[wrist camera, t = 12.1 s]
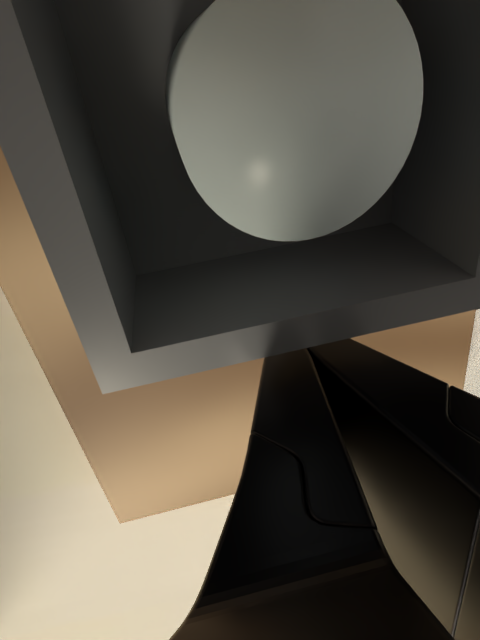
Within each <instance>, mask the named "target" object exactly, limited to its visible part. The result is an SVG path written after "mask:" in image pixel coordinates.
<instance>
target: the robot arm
mask: <svg viewBox="0 0 480 640" xmlns="http://www.w3.org/2000/svg"><path fill="white" fill-rule="evenodd" d="M250 434H251V435H250V436H249V442H248V447H247V452H246V457H245V461H244V465H243V470H242V474H241V477H240V480H239V484H238V487H237V490H236V493H235V496H234V499H233V502H232V505H231V508H230V511H229V514H228V516H227V519H226V522H225V525H224V527H223V530H222V533H221V536H220V539H219V541H218V544H217V547H216V550H215V552H214V555H213V558H212V561H211V564H210V566H209V569H208V572H207V575H206V577H205V580H204V582H203V585H202V587H201V590H200V592H199V594H198V596H197V599H196V601H195V603H194V605H193V607H192V609H191V610H190V612H189V614H188V615H187V617H186V619H185V620H184V622H183V623H182V624H181V626H180V627H179V628H178V630H177V631H176V632H175V633H174V635H173V636H172V637H171V638H170V639H169V640H480V398H479V397H477V396H475V395H472V394H470V393H468V392H466V391H464V390H461V389H459V388H457V387H455V386H450V387H449V384H448V383H446V382H444V381H442V380H439V379H437V378H435V377H433V376H431V375H429V374H426V373H424V372H422V371H420V370H418V369H416V368H414V367H411V366H409V365H407V364H405V363H403V362H401V361H398V360H396V359H394V358H392V357H390V356H388V355H385V354H383V353H381V352H379V351H377V350H375V349H372V348H370V347H368V346H366V345H364V344H362V343H359V342H357V341H355V340H353V339H351V338H348V339H344V340H340V341H335V342H331V343H326V344H322V345H318V346H313V347H309V348H304V349H300V350H296V351H291V352H287V353H282V354H278V355H274V356H269V357H265V358H264V361H263V366H262V372H261V377H260V383H259V388H258V394H257V399H256V405H255V410H254V416H253V421H252V427H251V433H250Z"/></svg>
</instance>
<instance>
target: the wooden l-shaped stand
mask: <svg viewBox="0 0 480 640" xmlns="http://www.w3.org/2000/svg"><path fill="white" fill-rule="evenodd" d="M0 286H1V288H2V290H3V292H4V294H5V296H6V298H7V300H8V302H9V304H10V306H11V308H12V310H13V312H14V314H15V316H16V318H17V320H18V322H19V324H20V326H21V328H22V330H23V332H24V334H25V336H26V338H27V340H28V342H29V344H30V346H31V348H32V350H33V352H34V354H35V356H36V358H37V359H38V361H39V363H40V365H41V367H42V369H43V371H44V373H45V375H46V377H47V379H48V381H49V383H50V385H51V387H52V389H53V391H54V393H55V395H56V397H57V399H58V401H59V403H60V405H61V407H62V409H63V411H64V413H65V415H66V417H67V419H68V421H69V423H70V425H71V427H72V429H73V431H74V433H75V435H76V437H77V439H78V441H79V443H80V445H81V447H82V449H83V451H84V453H85V455H86V457H87V459H88V461H89V463H90V465H91V467H92V469H93V471H94V473H95V475H96V477H97V479H98V481H99V483H100V485H101V487H102V489H103V491H104V493H105V495H106V497H107V499H108V501H109V503H110V505H111V507H112V509H113V511H114V513H115V515H116V517H117V519H118V521H119V523H124V522H128V521H131V520H135V519H139V518H143V517H147V516H151V515H155V514H159V513H162V512H166V511H170V510H174V509H178V508H182V507H186V506H190V505H194V504H197V503H201V502H205V501H209V500H213V499H217V498H221V497H225V496H229V495H232V494H235V493H236V490H237V487H238V484H239V480H240V477H241V474H242V470H243V465H244V461H245V457H246V452H247V447H248V442H249V436H250V435H251V434H250V433H251V427H252V421H253V416H254V410H255V405H256V399H257V394H258V388H259V383H260V377H261V372H262V366H263V361H264V358H260V359H256V360H252V361H247V362H243V363H238V364H234V365H229V366H225V367H221V368H216V369H212V370H207V371H203V372H199V373H194V374H190V375H185V376H181V377H177V378H172V379H168V380H163V381H159V382H155V383H150V384H146V385H141V386H137V387H133V388H128V389H124V390H119V391H115V392H111V393H106V394H102V392H101V389H100V387H99V385H98V382H97V380H96V377H95V375H94V372H93V370H92V368H91V365H90V363H89V360H88V358H87V355H86V353H85V350H84V348H83V346H82V343H81V341H80V338H79V336H78V333H77V331H76V329H75V326H74V324H73V321H72V319H71V316H70V314H69V312H68V309H67V307H66V304H65V302H64V299H63V297H62V295H61V292H60V290H59V287H58V285H57V282H56V280H55V278H54V275H53V273H52V270H51V268H50V265H49V263H48V261H47V258H46V256H45V253H44V251H43V248H42V246H41V244H40V241H39V239H38V236H37V234H36V231H35V229H34V226H33V224H32V222H31V219H30V217H29V214H28V212H27V209H26V207H25V205H24V202H23V200H22V197H21V195H20V192H19V190H18V188H17V185H16V183H15V180H14V178H13V175H12V173H11V171H10V168H9V166H8V163H7V161H6V158H5V156H4V154H3V151H2V149H1V146H0ZM475 312H476V310H472V311H467V312H463V313H459V314H454V315H450V316H445V317H441V318H436V319H432V320H428V321H423V322H419V323H414V324H410V325H406V326H401V327H397V328H392V329H388V330H384V331H379V332H375V333H370V334H366V335H362V336H357V337H353V338H351V339H353V340H355V341H357V342H359V343H362V344H364V345H366V346H368V347H370V348H372V349H375V350H377V351H379V352H381V353H383V354H385V355H388V356H390V357H392V358H394V359H396V360H398V361H401V362H403V363H405V364H407V365H409V366H411V367H414V368H416V369H418V370H420V371H422V372H424V373H426V374H429V375H431V376H433V377H435V378H437V379H439V380H442V381H444V382H446V383H448V384H449V387H450V386H455V387H457V388H459V389H461V390H463V387H464V381H465V375H466V369H467V362H468V356H469V350H470V343H471V337H472V331H473V325H474V318H475Z"/></svg>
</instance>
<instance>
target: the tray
mask: <svg viewBox="0 0 480 640" xmlns="http://www.w3.org/2000/svg"><path fill="white" fill-rule="evenodd" d="M0 146H1V149H2V151H3V154H4V156H5V158H6V161H7V163H8V166H9V168H10V171H11V173H12V175H13V178H14V180H15V183H16V185H17V188H18V190H19V192H20V195H21V197H22V200H23V202H24V205H25V207H26V209H27V212H28V214H29V217H30V219H31V222H32V224H33V226H34V229H35V231H36V234H37V236H38V239H39V241H40V244H41V246H42V248H43V251H44V253H45V256H46V258H47V261H48V263H49V265H50V268H51V270H52V273H53V275H54V278H55V280H56V282H57V285H58V287H59V290H60V292H61V295H62V297H63V299H64V302H65V304H66V307H67V309H68V312H69V314H70V316H71V319H72V321H73V324H74V326H75V329H76V331H77V333H78V336H79V338H80V341H81V343H82V346H83V348H84V350H85V353H86V355H87V358H88V360H89V363H90V365H91V368H92V370H93V372H94V375H95V377H96V380H97V382H98V385H99V387H100V389H101V392H102V394H106V393H111V392H115V391H119V390H124V389H128V388H133V387H137V386H141V385H146V384H150V383H155V382H159V381H163V380H168V379H172V378H177V377H181V376H185V375H190V374H194V373H199V372H203V371H207V370H212V369H216V368H221V367H225V366H229V365H234V364H238V363H243V362H247V361H252V360H256V359H260V358H265V357H269V356H274V355H278V354H282V353H287V352H291V351H296V350H300V349H304V348H309V347H313V346H318V345H322V344H326V343H331V342H335V341H340V340H344V339H348V338H353V337H357V336H362V335H366V334H370V333H375V332H379V331H384V330H388V329H392V328H397V327H401V326H406V325H410V324H414V323H419V322H423V321H428V320H432V319H436V318H441V317H445V316H450V315H454V314H459V313H463V312H467V311H472V310H476V309H480V0H0Z"/></svg>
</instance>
